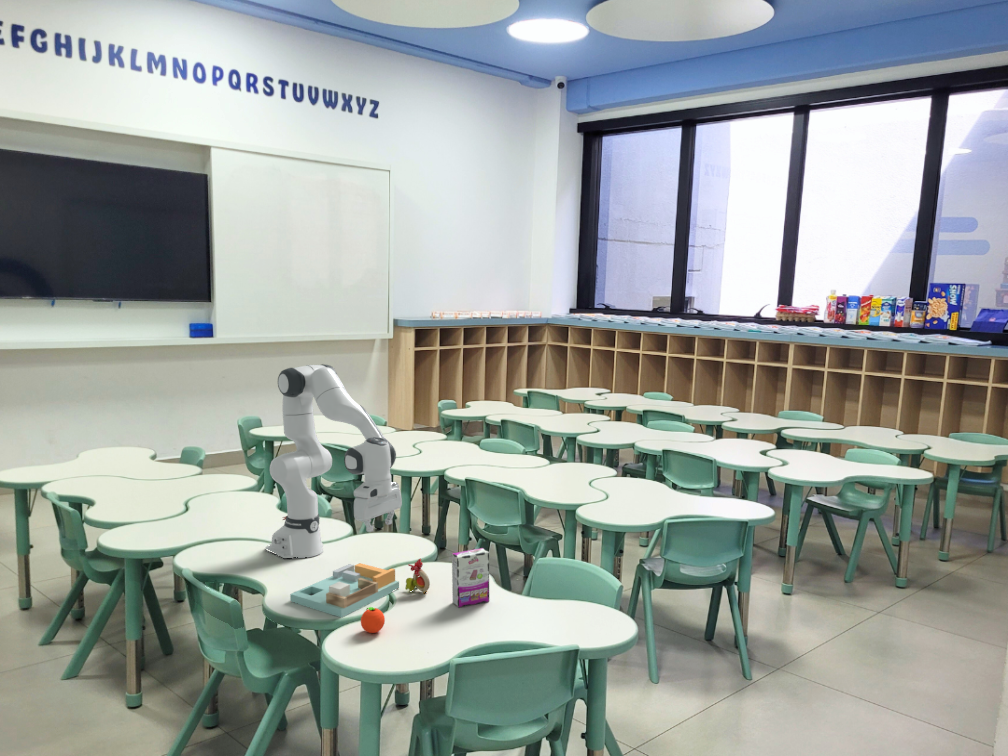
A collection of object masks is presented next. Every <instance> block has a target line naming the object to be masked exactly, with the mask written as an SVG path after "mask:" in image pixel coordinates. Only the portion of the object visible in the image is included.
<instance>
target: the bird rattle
mask: <svg viewBox="0 0 1008 756" xmlns="http://www.w3.org/2000/svg"><path fill="white" fill-rule="evenodd" d="M423 565H424V564H423V562H422V559H421V558H418V559H417V561H416V562H414V565H413V564H410V563H409V564H407V566H408V567H410V571H411V572H413V574H412V577H407V578H406V579H405V583H406V584H405V590H406V591H407V590H409V592H410V591H412V590H414V591H415V588H416V589H417V588H418V591H420V592H422V593H423V594H424V593H425V592H427V593H428V590H429V589H430V585H431V582H430V579H429V576H428V575H427V573H426V572H425V571H424V570H423V569H422V567H423ZM425 594H426V593H425Z"/></svg>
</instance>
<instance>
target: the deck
mask: <svg viewBox="0 0 1008 756" xmlns="http://www.w3.org/2000/svg"><path fill="white" fill-rule="evenodd" d="M354 572H355V569H354ZM360 578H362V579H366V580H370V581H373V579H372V578H368V577H364V576H361V575H360ZM337 582H342V583H346V584H349V585H350V594H352V593H354V592H356V591H359V590H361V589H360V588H358V581H357V582H353V581H350V580H346V579H342V577H340V578H338V579H337V578H333V575H332V576H329V577H326V578H324V579H322V580H319V581H317V582H315V583H312V584H310V585H308V586H306V587H304V588H302V589H299V590H296V591H294V592H292V593H290V595H289V597H290V598H289V600H290V601H292V602H291V603H293V602H295V603H294V604H297V603H298V604H297V605H299V606H304V607H307V608H309V607H310V609H312V610H317V611H320V612H322V613H325V614H329V615H332V616H335V617H338V618H341V617H342V618H343V616H344V617H346V616H347V615H350V614H352V613H354V612H356V611H358V610H359V609H361V608H363V607H366V606H367V605H369V604H372V603H374V602H376V601H377V600H379V599H381V598H384V597H386V596H388V595H390V594H392V593H393V592H392V591H393V590H395V589H397V588H399V589H400V581H398V580H395V581H394V582H392V583H390V584H388V585H386V586H384V587H382V588H380V589H378V592H377V593H375V594H372V595H370V596H368V597H366V598H364V599H362V600H360V601H358V602H356V603H354V604H352V605H350V606H348V607H346V608H342V607H338V606H335V605H332V604H328V603H326V593H328V592H329V586H331V585H333V584H335V583H337ZM391 592H392V593H391Z"/></svg>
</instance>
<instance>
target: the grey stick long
mask: <svg viewBox="0 0 1008 756" xmlns="http://www.w3.org/2000/svg"><path fill="white" fill-rule="evenodd" d="M359 578H360V574H359V573H356V572H352V571H348V570H346V571H344V572H342V579H346V580H350V581H353V582H357V581H358V579H359Z"/></svg>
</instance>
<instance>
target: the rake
mask: <svg viewBox="0 0 1008 756" xmlns="http://www.w3.org/2000/svg"><path fill="white" fill-rule="evenodd" d="M354 570H355V572H356V573H359V574H360V575H361V576H364V577H368V578H372V579H373V581H374V582H377V583H378V589H380V588H382V587H384V586H386V585H388V584H390V583H392V582H394V581H396V569H395V568H389V569H384V568H380V567H377V566H374V565H368V564H365V563H357V564H355V565H354Z"/></svg>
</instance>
